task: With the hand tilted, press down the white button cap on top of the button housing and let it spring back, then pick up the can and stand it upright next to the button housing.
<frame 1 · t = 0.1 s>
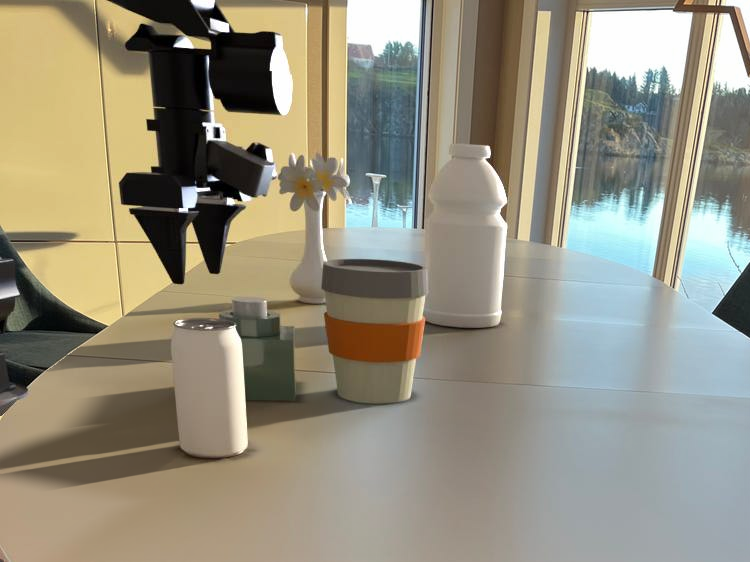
hand: (197, 278, 100), 14 cm above the table, tool pointing down, fingers open, 9 cm apart
flower vase: (317, 303, 178), on the table
bottle: (461, 323, 167), on the table
can: (214, 451, 93), on the table
button housing: (254, 391, 115), on the table
white button cap: (249, 308, 110), point 10 cm above the table, slide at 0.1 cm
reusable coffee cup: (374, 396, 117), on the table
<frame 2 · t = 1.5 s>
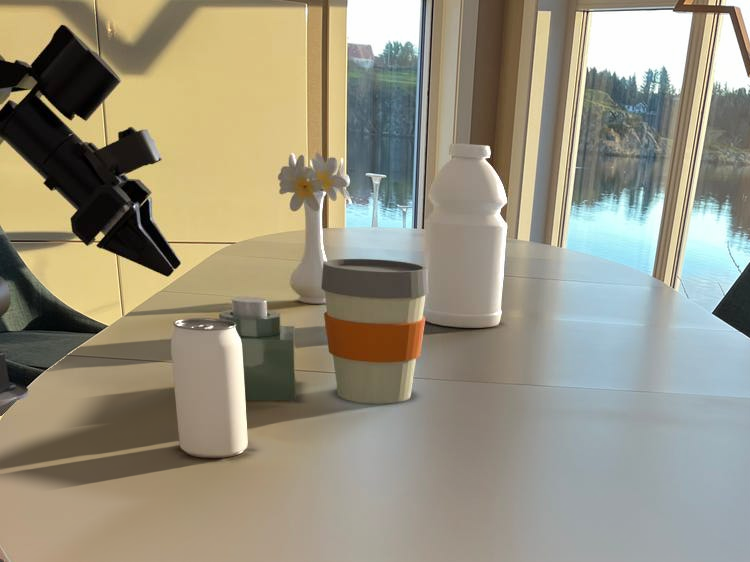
hand: (175, 269, 107), 14 cm above the table, tool tilted 45°, fingers open, 6 cm apart
nothing on the table moved.
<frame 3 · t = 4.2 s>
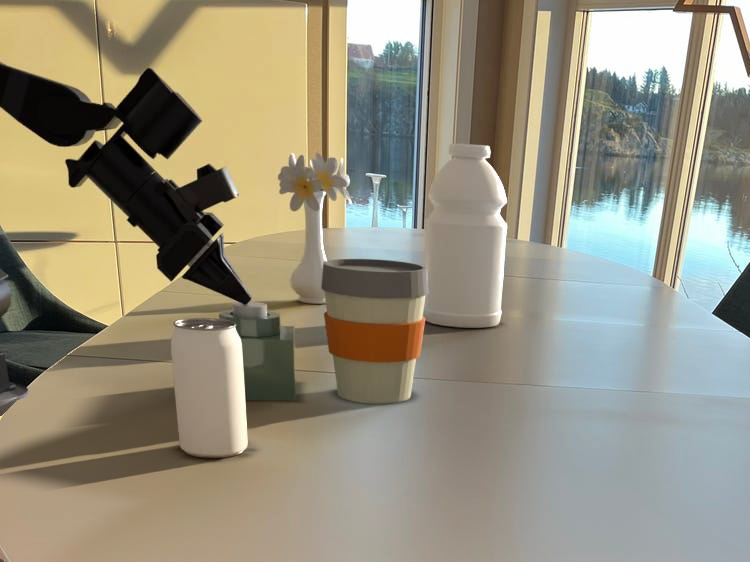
hand: (249, 301, 110), 10 cm above the table, tool tilted 45°, fingers closed, pressing on white button cap
white button cap: (249, 313, 110), point 9 cm above the table, slide at -0.5 cm, touching gripper
everything else where it was.
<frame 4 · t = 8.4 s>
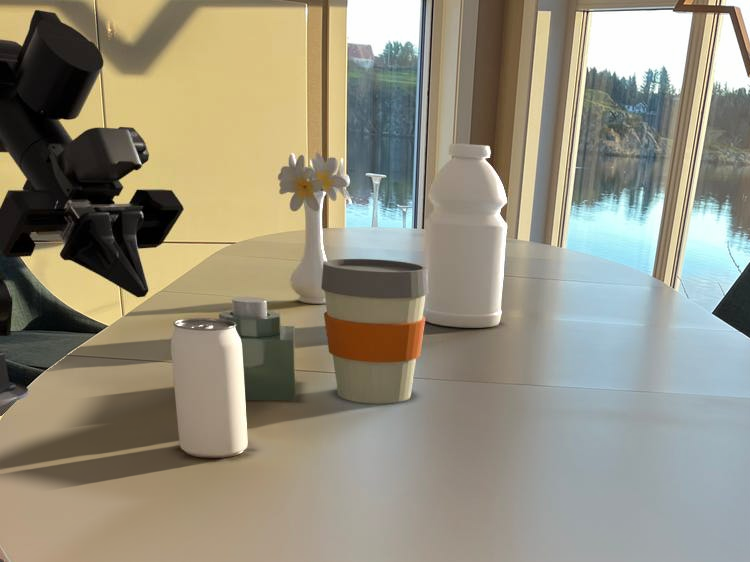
hand: (143, 294, 90), 14 cm above the table, tool tilted 45°, fingers closed
white button cap: (249, 308, 110), point 10 cm above the table, slide at 0.1 cm
everything else where it was.
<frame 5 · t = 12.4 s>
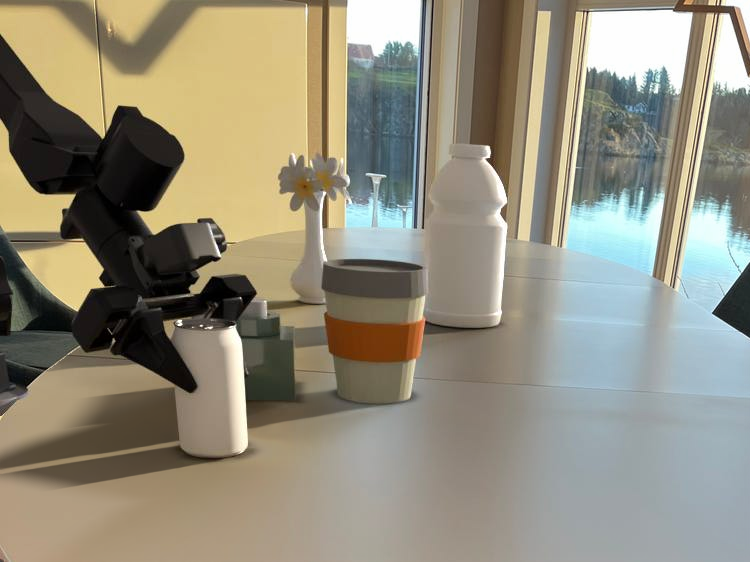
hand: (220, 384, 89), 7 cm above the table, tool tilted 45°, fingers closed on can, 6 cm apart
can: (214, 451, 93), on the table, touching gripper
everything else where it was.
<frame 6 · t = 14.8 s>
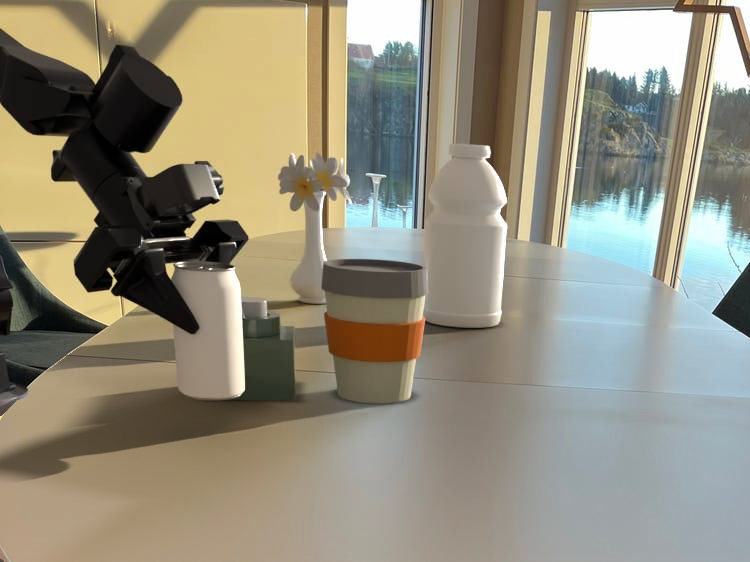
hand: (219, 326, 91), 11 cm above the table, tool tilted 45°, fingers closed on can, 6 cm apart
can: (212, 394, 94), point 4 cm above the table, touching gripper
everything else where it was.
when the fingers open (7 cm above the table, at t = 17.5 s): can stays where it is, on the table.
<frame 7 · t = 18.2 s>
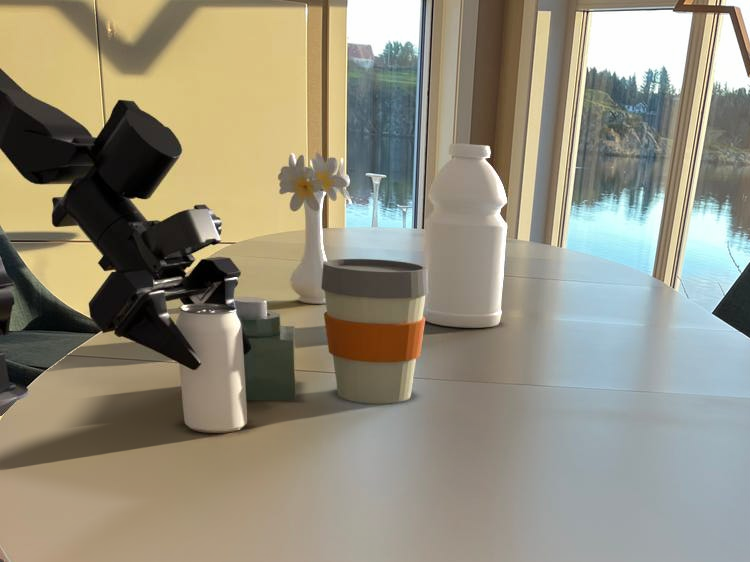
hand: (224, 359, 97), 7 cm above the table, tool tilted 45°, fingers open, 9 cm apart
can: (216, 427, 100), on the table
everything else where it was.
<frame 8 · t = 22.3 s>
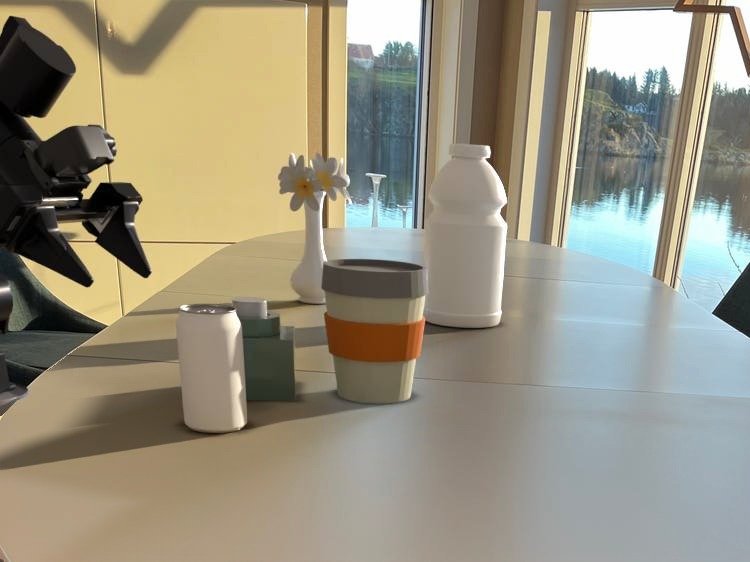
hand: (121, 279, 97), 14 cm above the table, tool tilted 45°, fingers open, 9 cm apart
nothing on the table moved.
at the end: white button cap pushed in 1.4 cm at the most during the clip, back to where it started at the end; can inside the target area on the table beside the button housing (0.5 cm from its centre), on the table; can tilted 0° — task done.
